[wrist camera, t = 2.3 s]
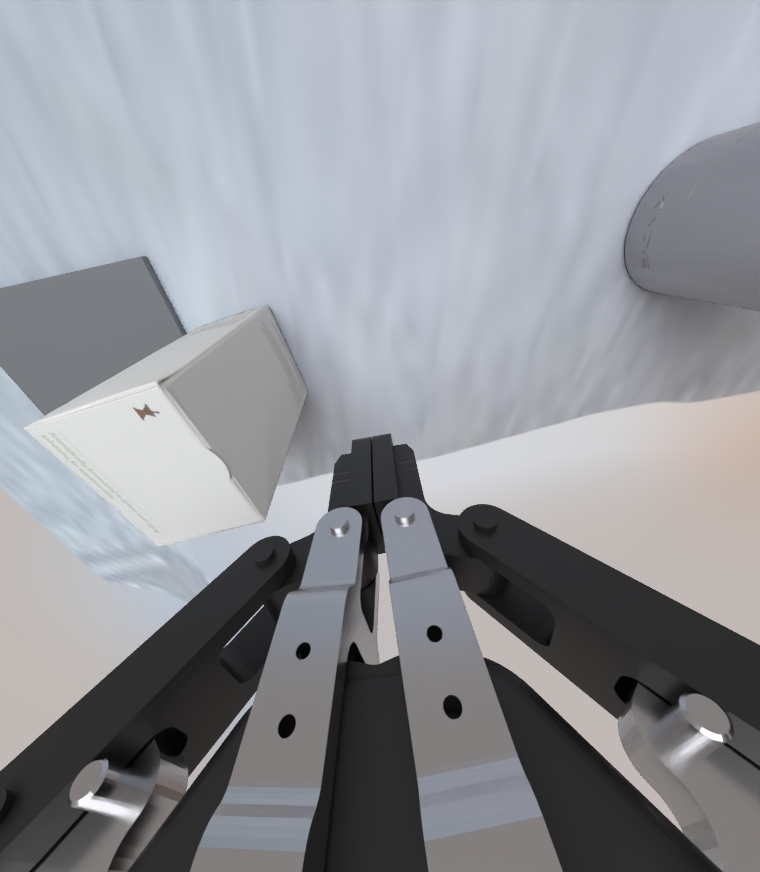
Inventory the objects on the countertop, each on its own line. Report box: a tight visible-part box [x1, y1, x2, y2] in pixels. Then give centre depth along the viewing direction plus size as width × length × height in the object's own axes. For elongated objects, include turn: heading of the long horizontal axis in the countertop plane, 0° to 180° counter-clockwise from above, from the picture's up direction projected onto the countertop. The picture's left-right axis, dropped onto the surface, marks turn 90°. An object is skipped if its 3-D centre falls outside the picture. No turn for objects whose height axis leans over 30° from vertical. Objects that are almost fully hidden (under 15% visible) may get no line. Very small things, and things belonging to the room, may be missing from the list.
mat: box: [0, 256, 186, 415], centre depth 27 cm, size 16×18×1 cm
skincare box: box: [24, 305, 308, 547], centre depth 20 cm, size 8×7×16 cm
